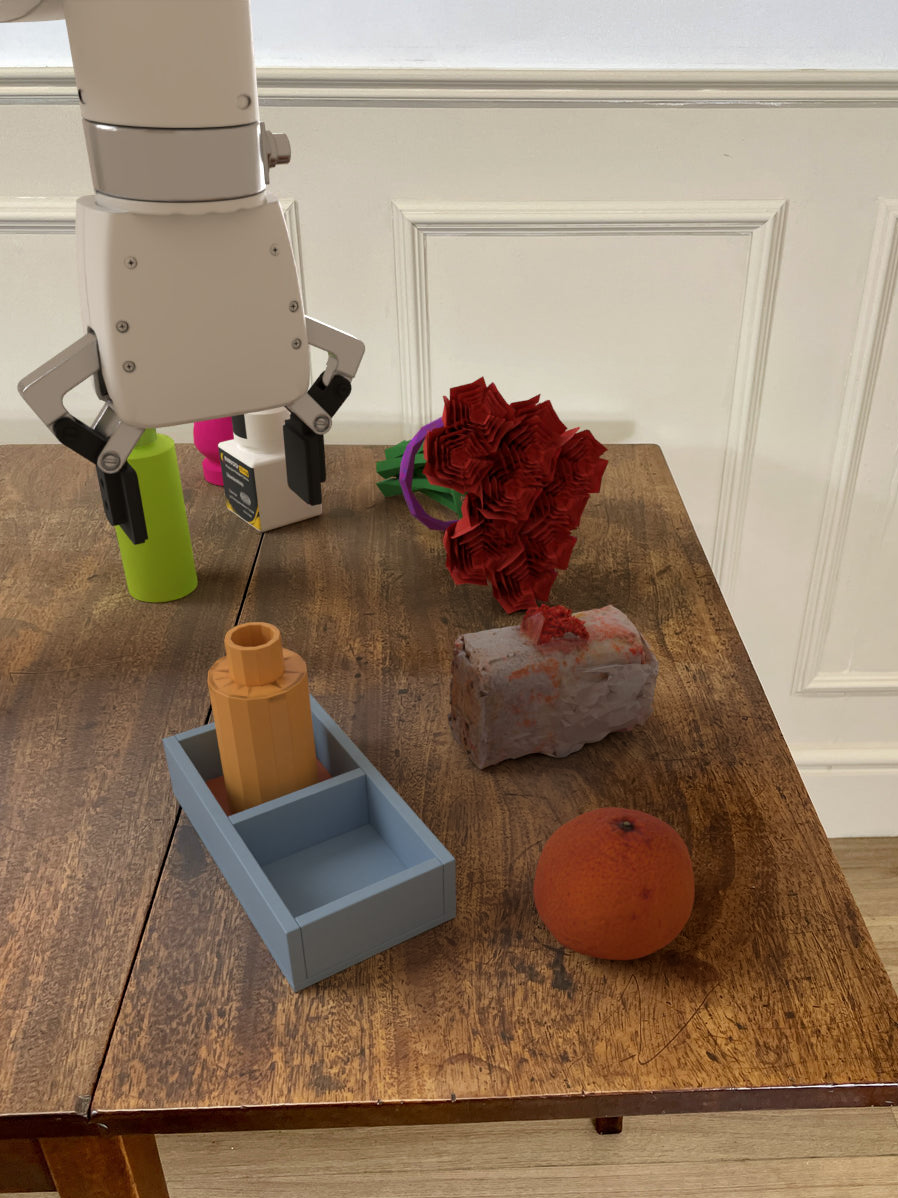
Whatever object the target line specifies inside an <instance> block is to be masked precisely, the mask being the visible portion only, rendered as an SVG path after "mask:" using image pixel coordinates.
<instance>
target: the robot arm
mask: <svg viewBox="0 0 898 1198" xmlns="http://www.w3.org/2000/svg"><path fill="white" fill-rule="evenodd" d="M251 6H252V5H251V0H0V24H11V23H37V22H38V23H39V22H53V21H62V20H63V21H65V27H66V31H67V37H68V44H69V50H70V56H71V61H72V67H73V73H74V77H75V78H74V79H75V80H74V81H75V85H76V90H77V97H78V102H79V103H78V104H79V108H80V114H81V117H82V119H81V123H82V128H83V135H84V142H85V147H86V151H87V158H88V163H89V169H90V176H91V182H92V187H93V194H90V195H83V196H80V197H78V198H76V201H75V220H74V221H75V225H74V226H75V228H74V230H75V257H76V275H77V285H78V295H79V296H78V297H79V307H80V315H81V323H82V332H83V336H81V337H80V338H79V339H77V340H76V341H75V342H72V344H70V345H68V346H67V347H66V348H64V349H63V350H61V351H60V352H58V353H56V355H54V356H53V357H51V358H50V359H48V360H47V361H46V362H45V363H42V364H41V365H40V366H39V367H37V368H35V369H34V370H32V371H31V372H30V373H28V374H27V375H26V376H24V377H23V378H21V379H20V380H19V382H18V383H17V386H16V388H17V392H18V394H19V396H20V397H21V398H22V400H23V401H24V402H25V403H26V404H27V405H28V407H29V408H30V409H31V410H32V411H33V413H34V414H35V415H36V416H37V417H38V418H39V420H40V421H41V422H42V423H43V425H45V426H46V428H47V429H48V430H49V431H50V432H51V434H52V435H53V436H54V437H55V438H56V439H57V440H58V442H59V443H60V444H62V445H64V447H66V448H68V449H69V450H71V451H73V452H75V453H76V454H78V455H79V456H81V457H83V458H84V459H86V460H87V461H88V462H90V463H92V464H93V465H95V471H96V476H97V481H98V486H99V492H100V496H101V501H102V506H103V507H102V508H103V511H104V515H105V517H106V520H107V522H108V523H109V524H110V526H111V527H115V526H116V525H119V526H120V527H121V528H122V530H123V531H124V532H125V534H126V535H127V536H128V538H129V539H130V540H131V541H132V543H133V544H134V545H137V544H141V543H145V540H147V539H148V534H147V528H146V522H145V516H144V510H143V505H142V499H141V493H140V487H139V481H138V476H137V473H136V471H135V470H134V469H133V467H132V466H131V465H130V464H129V463H128V462H127V458H128V457H129V455H130V454H131V452H132V450H133V449H134V447H135V446H136V444H137V442H138V441H139V439H140V438H141V436H142V434H143V433H144V431H145V430H146V429H152V428H156V429H162V428H168V427H174V426H181V425H187V424H194V422H200V421H206V420H212V419H218V418H224V417H230V416H236V415H242V414H248V413H253V412H259V411H265V410H270V409H275V408H279V407H283V406H284V407H285V408H286V409H287V410H288V411H289V412H290V413H291V414H290V419H287V420H285V425H283V437H284V448H285V460H286V472H287V483H288V486H289V488H290V489H291V490H292V491H293V492H294V493H295V494H297V495H298V496H299V497H300V498H301V499H302V500H303V501H304V502H306V503H307V504H310V505H311V506H315V505H319V504H321V503H323V496H322V483H325V482H326V481H327V467H326V466H327V465H326V452H325V451H326V449H325V435H326V434H327V433H329V432H330V430H331V429H332V426H333V417H334V416H335V415H336V414H337V412H338V411H339V410H340V408H341V407H342V406H343V405H344V403H345V402H346V400H347V399H348V398H349V396H350V395H351V393H352V388H353V387H352V381H353V379H355V378H356V375H357V372H358V370H359V367H360V366H361V362H362V360H363V358H364V355H365V352H366V344H365V343H364V342H363V341H362V340H361V339H359V338H357V337H355V336H354V335H352V334H350V333H348V332H346V331H344V330H341V329H338V328H336V327H334V326H332V325H329V324H327V323H325V322H322V321H320V320H319V319H316V318H313V317H312V316H311V317H310V316H308V315H306V314H305V308H304V302H303V295H302V289H301V283H300V278H299V273H298V268H297V263H296V259H295V255H294V254H295V253H294V250H293V246H292V242H291V237H290V233H289V230H288V225H287V222H286V218H285V214H284V211H283V207H282V204H281V201H280V198H279V196H278V195H276V194H274V193H272V192H271V191H269V190H267V187H266V186H269V185H270V169H275V168H276V166H281V165H289V164H290V162H291V159H292V149H291V148H292V147H291V143H290V140H289V137H288V135H287V134H286V133H285V132H284V133H283V132H279V133H276V132H275V133H272V131H270V130H266V124H265V121H262V120H261V117H260V106H259V105H260V104H259V94H258V92H259V91H258V82H257V81H258V80H257V79H258V78H257V68H256V67H257V66H256V57H255V56H256V55H255V44H254V32H253V30H254V29H253V19H252V8H251ZM309 345H310V346H312V347H315V348H317V349H319V350H322V351H323V352H326V353H327V355H328V356H327V357H328V358H327V360H326V367H325V370H323V371H322V372H321V373H320V374H319V375H318V377H317V378H316V379H315V381H314V382H313V384H312V385H310V381H311V364H310V363H311V362H310V348H309ZM89 378H90V382H91V386H92V389H93V391H94V394H95V395H96V397H97V399H98V400H99V401H103V402H104V403H103V406H102V407H101V409H100V411H99V412H98V414H97V416H96V417H95V418H94V420H93V422H92V423H91V425H88V424H86V423H85V422H83V421H81V420H80V419H79V418H77V417H75V416H74V415H73V414H71V413H70V412H69V411H68V410H67V408H66V407H65V405H64V400H63V399H64V397H65V396H66V395H67V393H69V392H70V391H72V390H73V389H74V388H76V387H77V386H78V385H80V384H81V383H84V381H86V380H87V379H89Z"/></svg>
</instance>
